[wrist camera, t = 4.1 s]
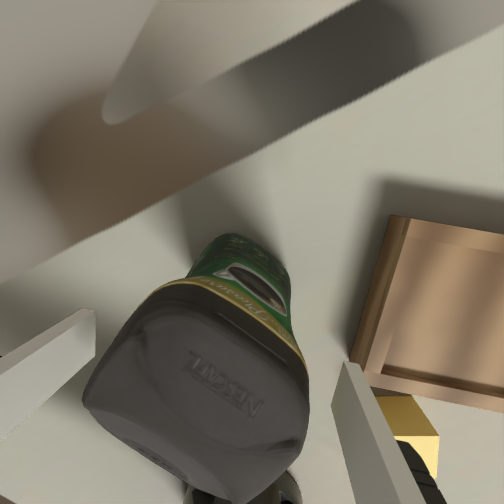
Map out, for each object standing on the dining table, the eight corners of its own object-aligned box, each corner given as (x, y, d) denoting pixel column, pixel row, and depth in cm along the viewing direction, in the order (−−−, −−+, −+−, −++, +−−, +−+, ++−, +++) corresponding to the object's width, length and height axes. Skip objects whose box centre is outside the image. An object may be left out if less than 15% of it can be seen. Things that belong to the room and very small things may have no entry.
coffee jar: (185, 278, 28) (25, 431, 10) (227, 220, 26) (125, 276, 8) (256, 330, 29) (228, 562, 11) (302, 276, 27) (361, 444, 9)
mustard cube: (365, 432, 30) (382, 477, 26) (365, 396, 29) (383, 436, 25) (409, 432, 30) (436, 478, 25) (411, 395, 29) (439, 436, 24)
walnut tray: (348, 359, 28) (360, 384, 25) (390, 214, 25) (411, 218, 21) (498, 389, 28) (532, 418, 24) (563, 244, 24) (616, 254, 20)
